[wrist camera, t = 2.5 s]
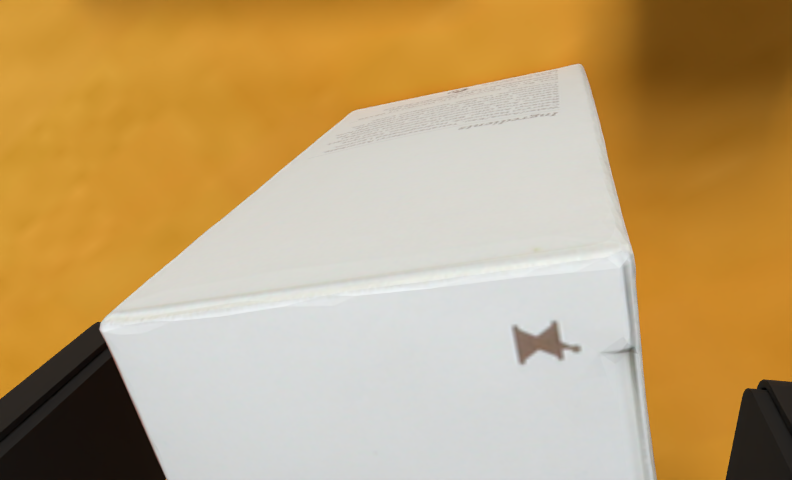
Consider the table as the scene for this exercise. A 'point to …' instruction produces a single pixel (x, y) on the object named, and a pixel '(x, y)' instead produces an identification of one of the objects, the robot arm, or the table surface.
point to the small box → (406, 306)
